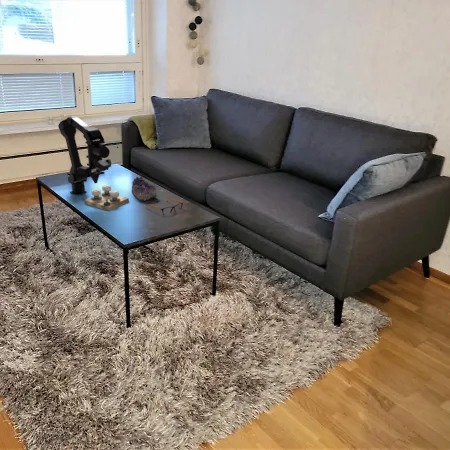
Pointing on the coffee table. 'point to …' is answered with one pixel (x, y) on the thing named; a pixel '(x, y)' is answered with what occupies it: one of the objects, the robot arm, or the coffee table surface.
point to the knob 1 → (96, 193)
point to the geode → (143, 189)
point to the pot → (107, 202)
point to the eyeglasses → (168, 207)
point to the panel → (102, 199)
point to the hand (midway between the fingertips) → (95, 183)
